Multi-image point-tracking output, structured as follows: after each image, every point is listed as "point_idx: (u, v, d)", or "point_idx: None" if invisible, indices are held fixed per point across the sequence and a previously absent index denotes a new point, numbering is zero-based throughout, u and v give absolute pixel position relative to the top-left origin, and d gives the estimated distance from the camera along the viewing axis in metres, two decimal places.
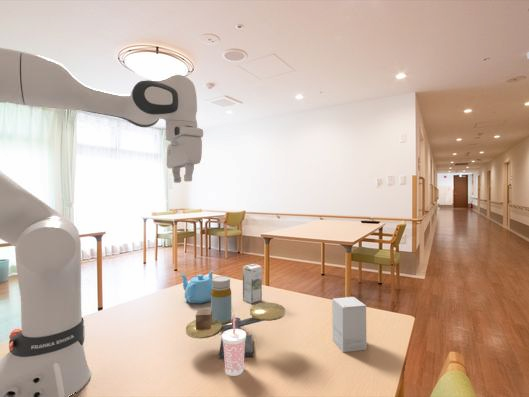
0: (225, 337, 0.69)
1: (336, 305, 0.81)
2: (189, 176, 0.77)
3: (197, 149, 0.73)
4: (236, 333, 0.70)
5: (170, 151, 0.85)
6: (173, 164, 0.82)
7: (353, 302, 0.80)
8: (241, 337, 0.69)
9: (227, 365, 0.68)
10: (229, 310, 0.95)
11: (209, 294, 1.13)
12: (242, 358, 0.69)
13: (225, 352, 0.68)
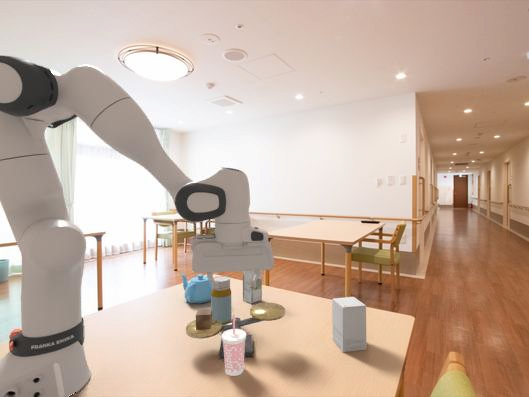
0: (225, 337, 0.69)
1: (336, 305, 0.81)
2: None
3: None
4: (236, 333, 0.70)
5: (207, 252, 0.67)
6: (222, 269, 0.68)
7: (353, 302, 0.80)
8: (241, 337, 0.69)
9: (227, 365, 0.68)
10: (229, 310, 0.95)
11: (209, 294, 1.13)
12: (242, 358, 0.69)
13: (225, 352, 0.68)
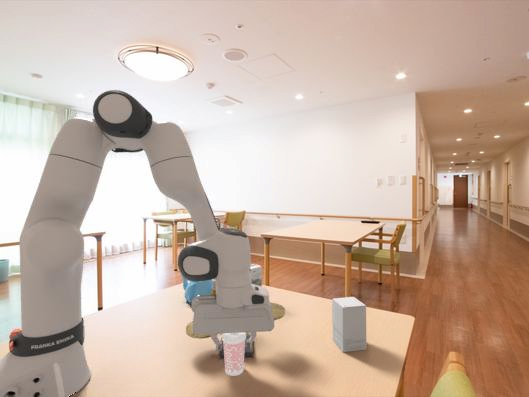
0: (225, 337, 0.69)
1: (336, 305, 0.81)
2: None
3: None
4: (236, 333, 0.70)
5: (208, 314, 0.68)
6: (223, 331, 0.68)
7: (353, 302, 0.80)
8: (241, 337, 0.69)
9: (227, 365, 0.68)
10: None
11: (209, 294, 1.13)
12: (242, 358, 0.69)
13: (225, 352, 0.68)
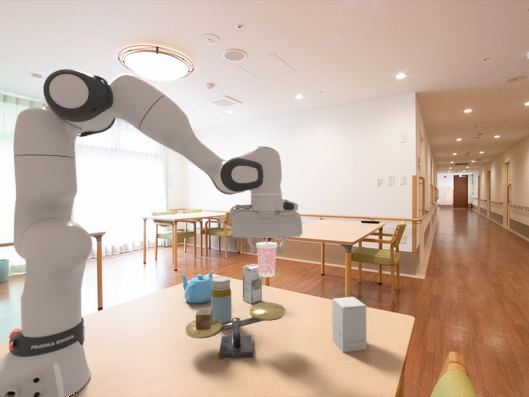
0: (259, 244, 0.79)
1: (336, 305, 0.81)
2: None
3: None
4: (268, 242, 0.80)
5: (245, 220, 0.78)
6: (258, 235, 0.78)
7: (353, 302, 0.80)
8: (273, 244, 0.79)
9: (261, 268, 0.78)
10: (229, 310, 0.95)
11: (209, 294, 1.13)
12: (274, 263, 0.79)
13: (259, 257, 0.78)
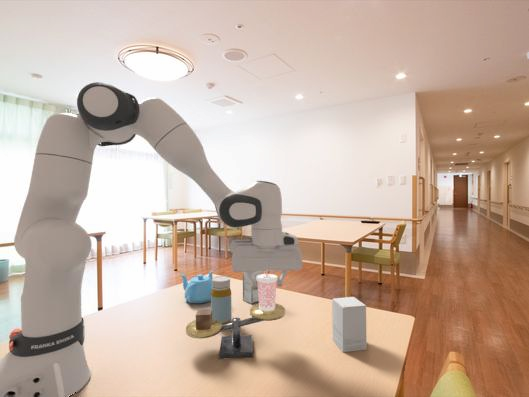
0: (259, 278, 0.79)
1: (336, 305, 0.81)
2: None
3: None
4: (268, 275, 0.80)
5: (245, 254, 0.78)
6: (258, 269, 0.78)
7: (353, 302, 0.80)
8: (274, 278, 0.79)
9: (261, 302, 0.78)
10: (229, 310, 0.95)
11: (209, 294, 1.13)
12: (274, 296, 0.79)
13: (260, 291, 0.78)
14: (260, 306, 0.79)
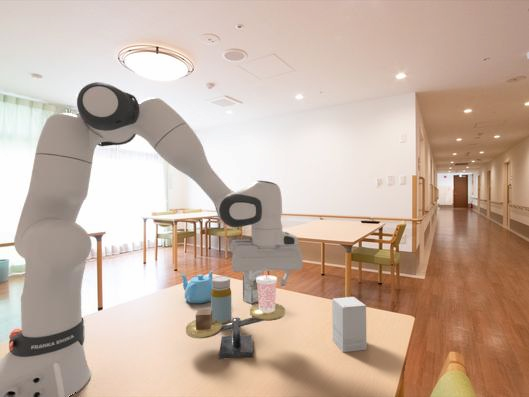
0: (259, 280, 0.79)
1: (336, 305, 0.81)
2: None
3: None
4: (268, 277, 0.80)
5: (245, 254, 0.78)
6: (258, 269, 0.78)
7: (353, 302, 0.80)
8: (273, 279, 0.79)
9: (261, 304, 0.78)
10: (229, 310, 0.95)
11: (209, 294, 1.13)
12: (274, 298, 0.79)
13: (259, 292, 0.78)
14: (260, 308, 0.79)
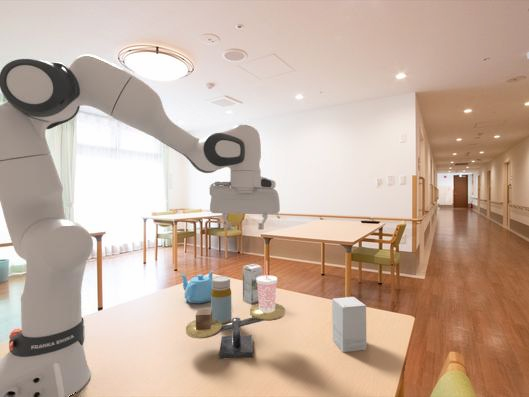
0: (259, 280, 0.79)
1: (336, 305, 0.81)
2: (263, 224, 0.82)
3: None
4: (268, 277, 0.80)
5: (223, 196, 0.80)
6: (236, 211, 0.80)
7: (353, 302, 0.80)
8: (273, 279, 0.79)
9: (261, 304, 0.78)
10: (229, 310, 0.95)
11: (209, 294, 1.13)
12: (274, 298, 0.79)
13: (260, 292, 0.78)
14: (260, 308, 0.79)
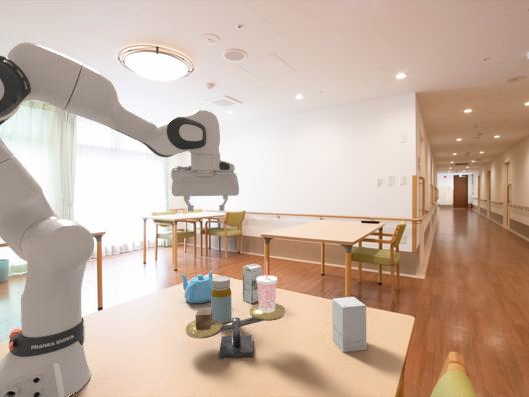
0: (259, 280, 0.79)
1: (336, 305, 0.81)
2: None
3: (238, 184, 0.87)
4: (268, 277, 0.80)
5: (184, 179, 0.83)
6: (196, 193, 0.83)
7: (353, 302, 0.80)
8: (273, 279, 0.79)
9: (261, 304, 0.78)
10: (229, 310, 0.95)
11: (209, 294, 1.13)
12: (274, 298, 0.79)
13: (260, 292, 0.78)
14: (260, 308, 0.79)
